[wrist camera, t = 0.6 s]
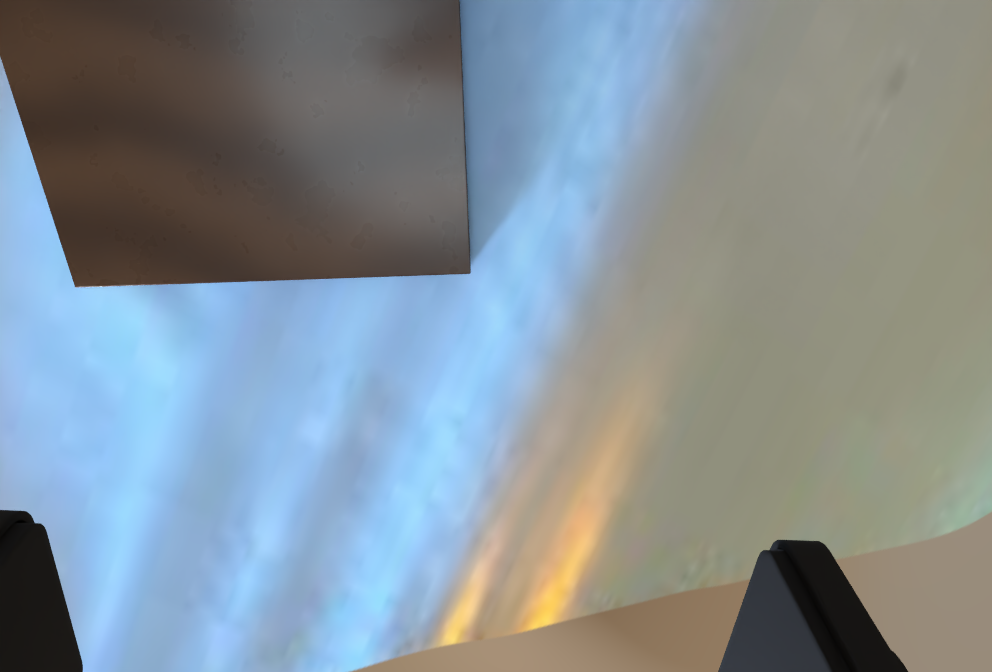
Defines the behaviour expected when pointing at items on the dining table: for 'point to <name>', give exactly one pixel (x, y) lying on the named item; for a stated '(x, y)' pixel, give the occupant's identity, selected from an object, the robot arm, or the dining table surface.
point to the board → (245, 136)
